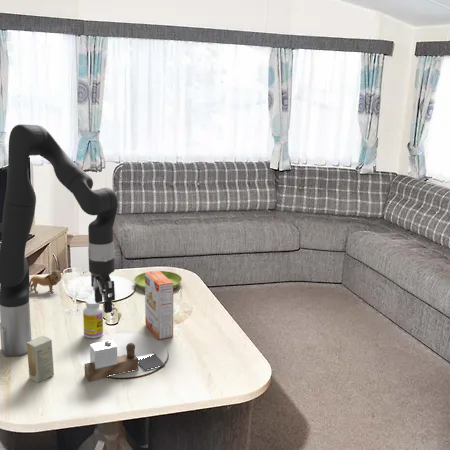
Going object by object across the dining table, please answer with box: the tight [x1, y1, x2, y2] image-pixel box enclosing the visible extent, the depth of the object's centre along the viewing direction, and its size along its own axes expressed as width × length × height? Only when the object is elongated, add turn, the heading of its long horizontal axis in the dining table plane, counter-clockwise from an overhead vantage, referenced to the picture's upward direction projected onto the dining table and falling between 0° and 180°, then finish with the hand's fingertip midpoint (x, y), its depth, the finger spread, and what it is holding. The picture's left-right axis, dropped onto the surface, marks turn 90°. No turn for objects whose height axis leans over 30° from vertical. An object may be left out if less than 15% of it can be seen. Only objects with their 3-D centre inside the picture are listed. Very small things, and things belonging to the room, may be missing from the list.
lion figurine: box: [29, 269, 63, 294], centre depth 245 cm, size 15×5×9 cm, turn 104°
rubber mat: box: [138, 353, 166, 371], centre depth 191 cm, size 7×9×1 cm
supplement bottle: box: [82, 298, 104, 339], centre depth 207 cm, size 7×7×13 cm
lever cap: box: [89, 339, 118, 369], centre depth 181 cm, size 7×5×7 cm
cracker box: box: [144, 269, 174, 340], centre depth 211 cm, size 14×6×21 cm, turn 27°
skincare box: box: [26, 335, 55, 384], centre depth 179 cm, size 6×4×12 cm
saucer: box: [133, 270, 183, 291], centre depth 257 cm, size 21×21×3 cm
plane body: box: [83, 342, 139, 382], centre depth 183 cm, size 16×4×9 cm, turn 120°
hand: (103, 307), depth 177 cm, fingers open, 8 cm apart
